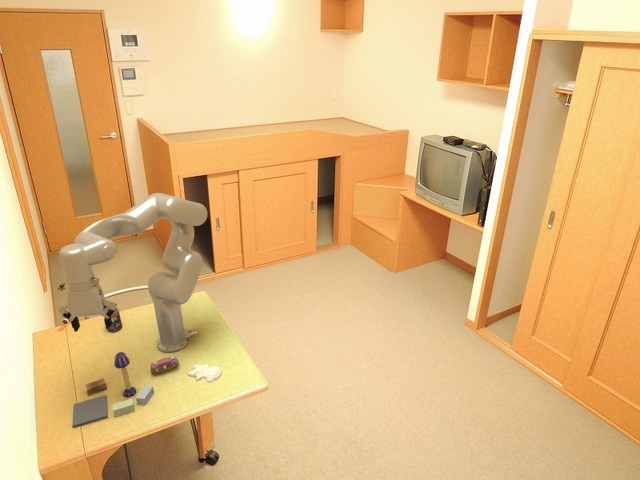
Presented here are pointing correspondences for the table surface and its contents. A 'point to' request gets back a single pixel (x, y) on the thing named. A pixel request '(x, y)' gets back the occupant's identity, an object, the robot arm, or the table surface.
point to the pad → (90, 411)
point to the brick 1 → (96, 387)
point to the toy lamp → (124, 373)
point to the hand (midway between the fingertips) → (93, 328)
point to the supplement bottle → (115, 321)
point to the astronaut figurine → (205, 372)
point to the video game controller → (164, 364)
